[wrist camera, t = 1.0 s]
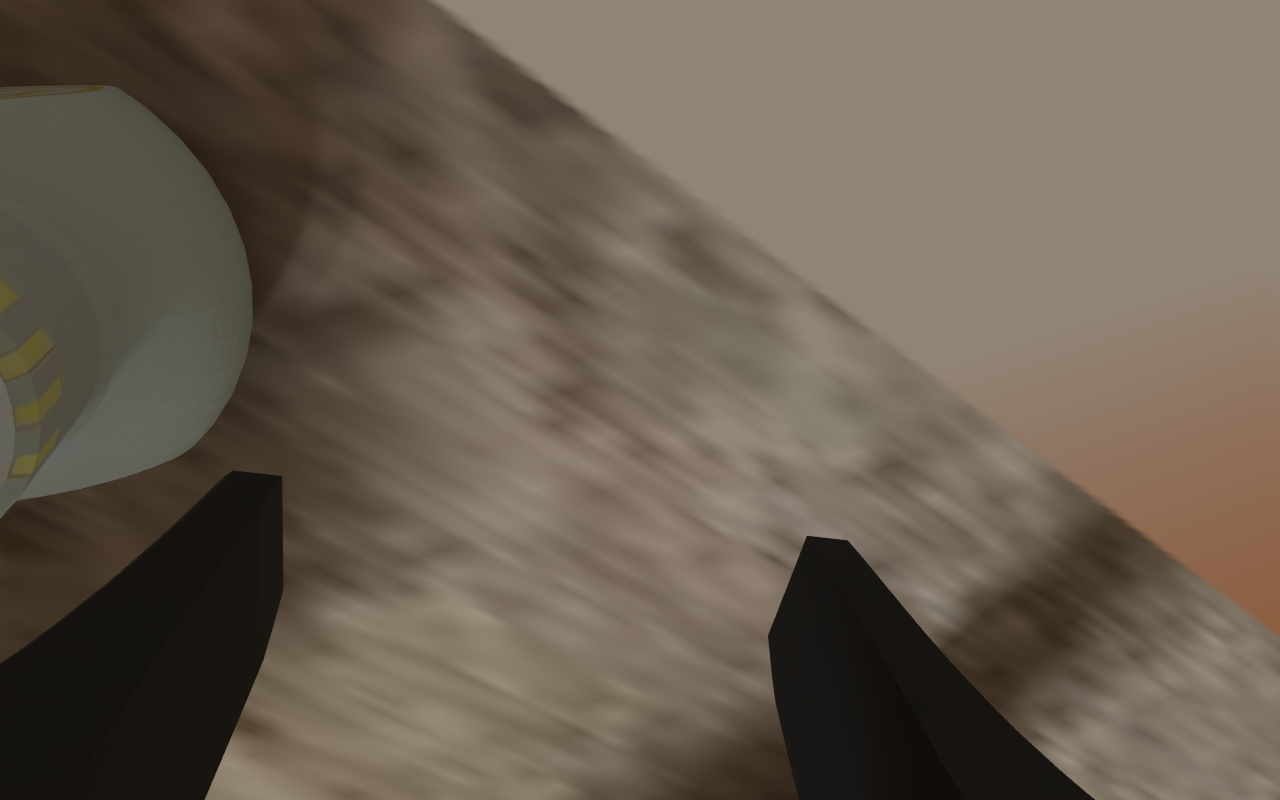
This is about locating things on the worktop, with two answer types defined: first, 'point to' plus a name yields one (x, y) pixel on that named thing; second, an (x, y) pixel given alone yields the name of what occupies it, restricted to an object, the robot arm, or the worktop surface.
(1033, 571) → the worktop surface
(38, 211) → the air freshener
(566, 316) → the worktop surface
